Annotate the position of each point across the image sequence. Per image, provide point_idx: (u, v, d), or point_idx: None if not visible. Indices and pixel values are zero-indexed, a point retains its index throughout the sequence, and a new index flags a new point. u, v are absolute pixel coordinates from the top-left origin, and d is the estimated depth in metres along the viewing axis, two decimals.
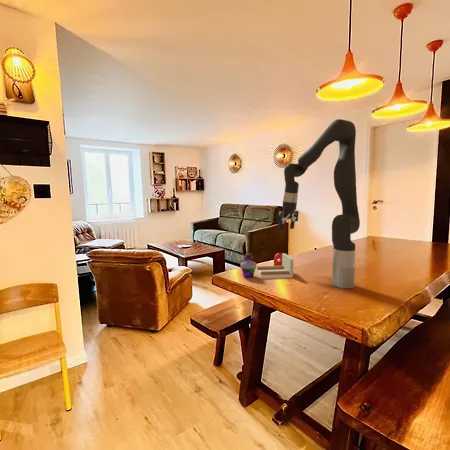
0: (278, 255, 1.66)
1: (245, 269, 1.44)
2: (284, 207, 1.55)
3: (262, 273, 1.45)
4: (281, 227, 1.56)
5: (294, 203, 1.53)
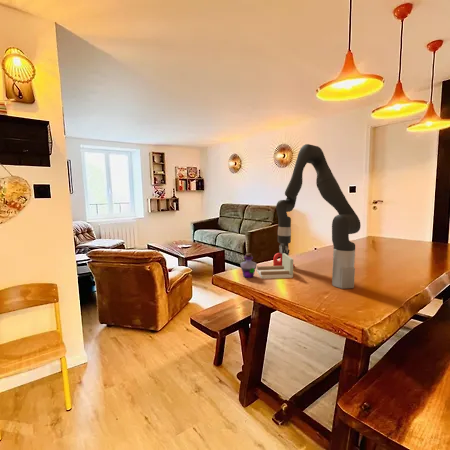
0: (278, 255, 1.65)
1: (245, 269, 1.44)
2: (286, 241, 1.62)
3: (262, 273, 1.45)
4: None
5: None
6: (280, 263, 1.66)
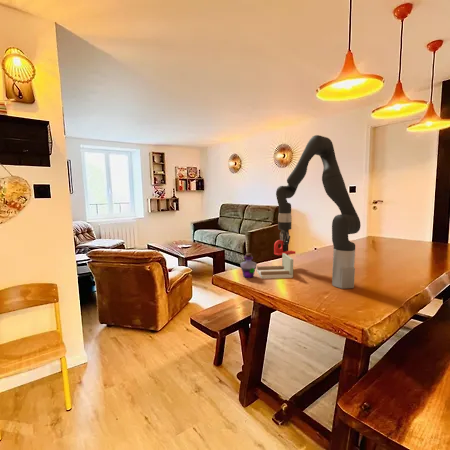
0: (278, 242, 1.63)
1: (245, 269, 1.44)
2: (287, 228, 1.61)
3: (262, 273, 1.45)
4: (286, 248, 1.64)
5: None
6: (281, 250, 1.64)
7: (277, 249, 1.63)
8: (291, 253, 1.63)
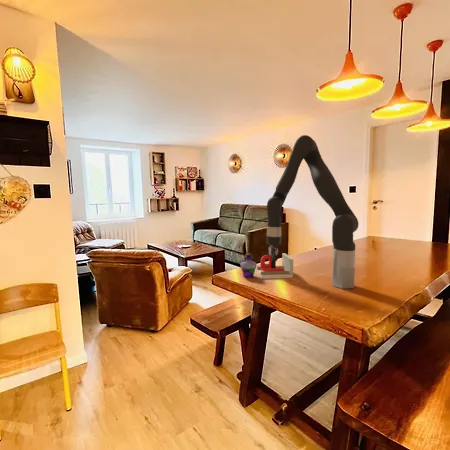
0: (265, 257, 1.50)
1: (245, 269, 1.44)
2: (276, 243, 1.46)
3: (262, 273, 1.45)
4: (275, 265, 1.50)
5: None
6: (268, 266, 1.50)
7: (264, 265, 1.50)
8: (279, 270, 1.48)
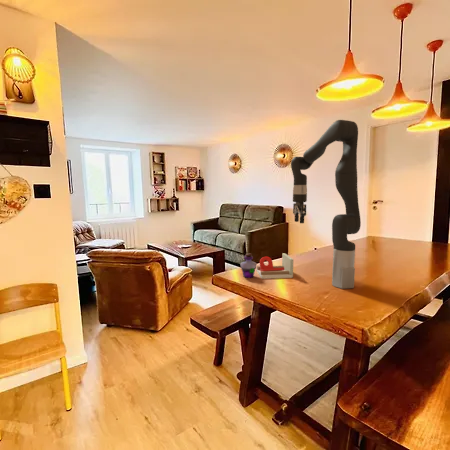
0: (264, 258, 1.52)
1: (245, 269, 1.44)
2: (302, 200, 1.56)
3: (262, 273, 1.45)
4: (303, 220, 1.56)
5: None
6: (268, 267, 1.51)
7: (263, 266, 1.50)
8: (279, 269, 1.48)
